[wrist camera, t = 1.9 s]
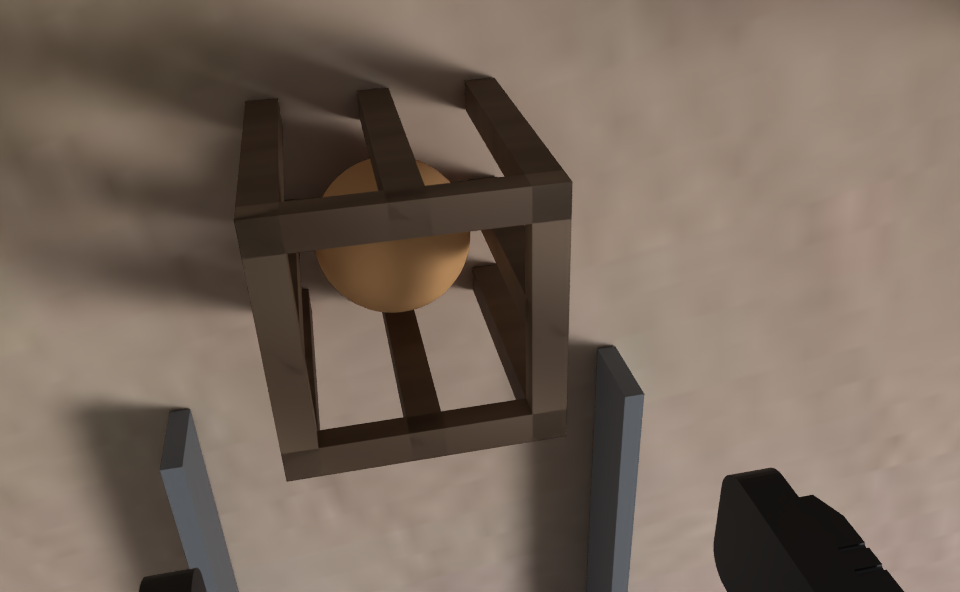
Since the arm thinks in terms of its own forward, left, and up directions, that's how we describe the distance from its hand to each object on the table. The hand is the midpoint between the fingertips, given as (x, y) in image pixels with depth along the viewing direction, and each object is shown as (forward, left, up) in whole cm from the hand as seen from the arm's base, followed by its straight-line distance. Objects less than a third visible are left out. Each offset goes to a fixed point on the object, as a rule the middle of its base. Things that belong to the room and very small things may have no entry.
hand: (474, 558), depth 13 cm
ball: (0, 0, -11) cm, 11 cm away
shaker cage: (0, 0, -13) cm, 13 cm away
